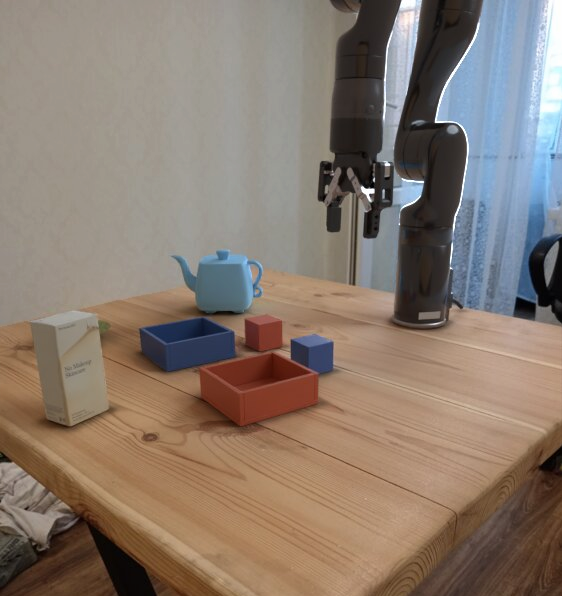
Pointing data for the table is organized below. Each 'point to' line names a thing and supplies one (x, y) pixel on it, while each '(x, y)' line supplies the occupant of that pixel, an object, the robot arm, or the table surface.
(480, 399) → the table surface
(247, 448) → the table surface
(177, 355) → the blue bin
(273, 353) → the red bin
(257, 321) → the red block
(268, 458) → the table surface
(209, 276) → the teapot
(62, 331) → the cosmetic box
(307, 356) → the blue block
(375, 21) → the robot arm
